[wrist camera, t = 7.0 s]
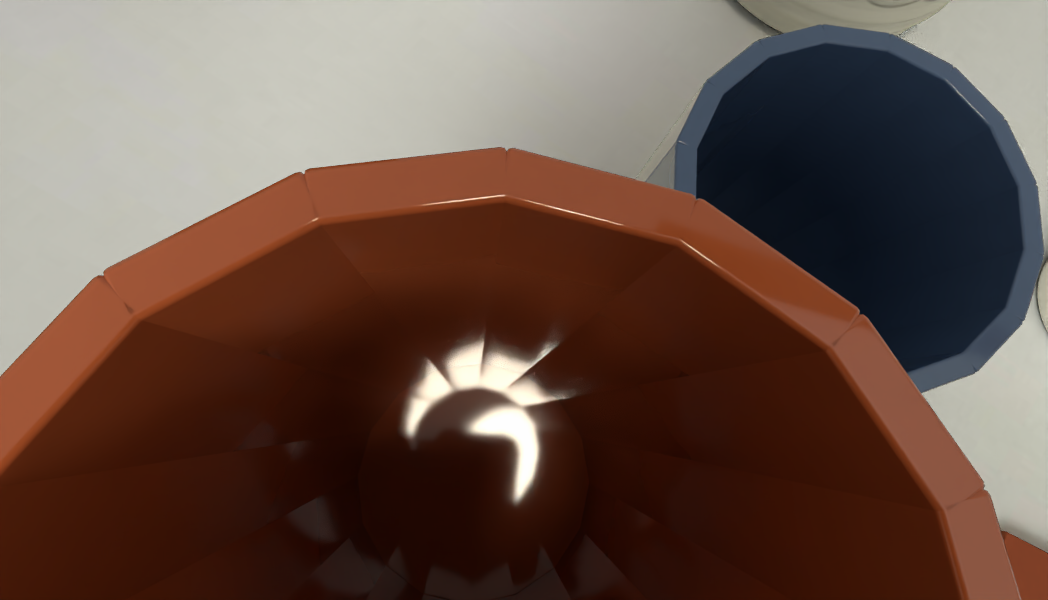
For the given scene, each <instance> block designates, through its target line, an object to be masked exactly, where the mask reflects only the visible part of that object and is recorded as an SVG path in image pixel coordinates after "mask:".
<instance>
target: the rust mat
mask: <svg viewBox="0 0 1048 600" xmlns="http://www.w3.org/2000/svg"><path fill="white" fill-rule="evenodd" d="M1001 533H1002V536H1003V540H1004V543H1005V546H1006V550H1007V553H1008V556H1009V560H1010V563H1011V566H1012V570H1013V573H1014V577H1015V580H1016V583H1017V587H1018V590H1019V593H1020V597H1021V600H1048V553H1046V552H1045V551H1043V550H1041V549H1039V548H1037V547H1035V546H1033V545H1031V544H1029V543H1027V542H1025V541H1023V540H1021V539H1019V538H1018V537H1016V536H1014V535H1012V534H1010V533H1008V532H1005V531H1001Z"/></svg>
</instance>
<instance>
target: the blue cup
mask: <svg viewBox="0 0 1048 600" xmlns="http://www.w3.org/2000/svg"><path fill="white" fill-rule="evenodd" d="M635 180H639V181H643V182H647V183H651V184H655V185H659V186H663V187H666V188H670V189H674V190H678V191H682V192H686V193H690V194H693V195H694V196H695V198H696V200H697V199H699V198H700V199H703V200H705V201H707V202H708V203H710V204H711V205H712V206H714V207H715V208H717V209H718V210H720V211H721V212H722V213H724V214H725V215H727V216H728V217H730V218H731V219H732V220H734V221H735V222H737V223H738V224H739V225H741V226H742V227H744V228H745V229H747V230H748V231H749V232H751V233H752V234H754V235H755V236H757V237H758V238H759V239H761V240H762V241H764V242H765V243H767V244H768V245H769V246H771V247H772V248H774V249H775V250H777V251H778V252H779V253H781V254H782V255H784V256H785V257H787V258H788V259H789V260H791V261H792V262H794V263H795V264H796V265H798V266H799V267H801V268H802V269H804V270H805V271H806V272H808V273H809V274H811V275H812V276H814V277H815V278H816V279H818V280H819V281H821V282H822V283H824V284H825V285H826V286H828V287H829V288H831V289H832V290H834V291H835V292H836V293H838V294H839V295H841V296H842V297H844V298H845V299H846V300H848V301H849V302H851V303H852V304H853V305H855V306H856V307H858V309H859V310H860V313H859V314H864V315H865V316H866V317H868V319H869V320H870V322H871V323H872V324H873V326H874V327H875V329H876V330H877V332H878V333H879V334H880V336H881V337H882V339H883V340H884V341H885V343H886V344H887V346H888V347H889V349H890V350H891V351H892V353H893V354H894V356H895V357H896V358H897V360H898V361H899V363H900V364H901V366H902V367H903V368H904V370H905V371H906V373H907V374H908V375H909V377H910V378H911V380H912V381H913V383H914V384H915V385H916V387H917V388H918V390H919V391H920V392H921V393H924V392H926V391H929V390H932V389H934V388H937V387H940V386H943V385H945V384H948V383H951V382H953V381H956V380H959V379H962V378H964V377H967V376H970V375H973V374H974V373H975V372H977V371H979V370H980V368H981V367H982V366H983V365H984V364H985V363H986V362H987V361H988V360H989V359H990V358H991V357H992V356H993V355H994V353H995V352H996V351H997V350H998V349H999V348H1000V347H1001V346H1002V345H1003V344H1004V343H1005V342H1006V341H1007V340H1008V339H1009V337H1010V336H1011V335H1012V334H1013V333H1014V332H1015V331H1016V330H1017V329H1018V328H1019V327H1020V326H1021V325H1022V323H1023V321H1024V320H1025V317H1026V314H1027V311H1028V308H1029V304H1030V301H1031V298H1032V295H1033V291H1034V288H1035V285H1036V282H1037V279H1038V275H1039V272H1040V269H1041V266H1042V263H1043V259H1044V256H1043V255H1044V244H1043V234H1042V224H1041V214H1040V204H1039V194H1038V186H1037V185H1036V180H1035V178H1034V176H1033V174H1032V172H1031V170H1030V168H1029V166H1028V164H1027V162H1026V159H1025V157H1024V155H1023V153H1022V151H1021V149H1020V147H1019V145H1018V143H1017V141H1016V139H1015V137H1014V135H1013V133H1012V131H1011V128H1010V126H1009V124H1008V122H1007V121H1006V120H1004V116H1003V115H1002V114H1001V113H1000V112H999V111H998V110H997V109H996V108H995V107H994V106H993V105H992V104H991V103H990V102H989V101H988V100H987V99H986V98H985V97H984V96H983V95H982V94H981V93H980V92H979V91H978V90H977V89H976V88H975V87H974V86H973V85H972V84H971V83H970V82H969V80H968V79H967V78H966V77H965V76H964V75H963V74H962V73H961V72H960V71H959V70H958V69H957V68H955V67H953V65H951V64H950V63H948V62H946V61H944V60H942V59H940V58H938V57H936V56H934V55H932V54H930V53H928V52H926V51H924V50H922V49H920V48H919V47H917V46H915V45H913V44H911V43H909V42H907V41H905V40H903V39H901V38H899V37H897V36H895V35H893V34H889V33H887V32H879V31H872V30H864V29H857V28H850V27H842V26H835V25H828V24H823V25H821V24H819V25H815V26H811V27H807V28H803V29H799V30H795V31H791V32H787V33H783V34H779V35H775V36H771V37H767V38H763V39H760V40H758V41H756V42H754V43H753V44H751V45H750V46H749V47H748V48H746V49H745V50H744V51H743V52H741V53H740V54H739V55H738V56H736V57H735V58H734V59H733V60H731V61H730V62H729V63H728V64H726V65H725V66H724V67H722V68H721V69H720V70H719V71H717V72H716V73H715V74H714V75H712V76H711V77H710V78H709V79H707V81H706V82H705V83H704V84H703V86H702V87H701V88H700V90H699V91H698V93H697V94H696V95H695V97H694V98H693V99H692V101H691V102H690V104H689V105H688V106H687V108H686V109H685V111H684V112H683V113H682V115H681V116H680V117H679V119H678V120H677V122H676V123H675V124H674V126H673V127H672V129H671V130H670V131H669V133H668V134H667V135H666V137H665V138H664V140H663V141H662V142H661V144H660V145H659V147H658V148H657V149H656V151H655V152H654V153H653V155H652V156H651V158H650V159H649V160H648V162H647V163H646V165H645V166H644V167H643V169H642V170H641V172H640V173H639V174H638V176H637V177H636V178H635Z"/></svg>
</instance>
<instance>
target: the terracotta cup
mask: <svg viewBox="0 0 1048 600" xmlns="http://www.w3.org/2000/svg"><path fill="white" fill-rule="evenodd" d="M103 273H104V276H103V275H98V276H96V277H95V278H93V279H92V280H91V281H90V282H89V283H88V284H87V286H86V287H85V288H84V289H83V290H82V291H81V292H80V293H79V294H78V295H77V296H76V297H75V298H74V299H73V300H72V301H71V302H70V303H69V305H68V306H67V307H66V308H65V309H64V310H63V311H62V312H61V313H60V314H59V315H58V316H57V317H56V318H55V319H54V320H53V321H52V322H51V324H50V325H49V326H48V327H47V328H46V329H45V330H44V331H43V332H42V333H41V334H40V335H39V336H38V337H37V338H36V339H35V340H34V341H33V343H32V344H31V345H30V346H29V347H28V348H27V349H26V350H25V351H24V352H23V353H22V354H21V355H20V356H19V357H18V358H17V359H16V360H15V362H14V363H13V364H12V365H11V366H10V367H9V368H8V369H7V370H6V371H5V372H4V373H3V374H2V375H1V376H0V600H1021V597H1020V593H1019V590H1018V587H1017V583H1016V580H1015V577H1014V573H1013V570H1012V566H1011V563H1010V560H1009V556H1008V553H1007V550H1006V546H1005V543H1004V540H1003V536H1002V533H1001V530H1000V526H999V523H998V519H997V516H996V513H995V509H994V506H993V503H992V499H991V496H990V494H989V493H988V491H986V490H984V487H985V485H984V482H983V480H982V479H981V477H980V476H979V474H978V473H977V472H976V470H975V469H974V467H973V466H972V465H971V463H970V462H969V460H968V459H967V457H966V456H965V455H964V453H963V452H962V450H961V449H960V448H959V446H958V445H957V443H956V442H955V441H954V439H953V438H952V436H951V435H950V433H949V432H948V431H947V429H946V428H945V426H944V425H943V424H942V422H941V421H940V419H939V418H938V416H937V415H936V414H935V412H934V411H933V409H932V408H931V407H930V405H929V404H928V402H927V401H926V399H925V398H924V397H923V395H922V394H921V392H920V391H919V390H918V388H917V387H916V385H915V384H914V383H913V381H912V380H911V378H910V377H909V375H908V374H907V373H906V371H905V370H904V368H903V367H902V366H901V364H900V363H899V361H898V360H897V358H896V357H895V356H894V354H893V353H892V351H891V350H890V349H889V347H888V346H887V344H886V343H885V341H884V340H883V339H882V337H881V336H880V334H879V333H878V332H877V330H876V329H875V327H874V326H873V324H872V323H871V322H870V320H869V319H868V317H866V316H865V315H864V314H859V313H860V310H859V309H858V307H856V306H855V305H853V304H852V303H851V302H849V301H848V300H846V299H845V298H844V297H842V296H841V295H839V294H838V293H836V292H835V291H834V290H832V289H831V288H829V287H828V286H826V285H825V284H824V283H822V282H821V281H819V280H818V279H816V278H815V277H814V276H812V275H811V274H809V273H808V272H806V271H805V270H804V269H802V268H801V267H799V266H798V265H796V264H795V263H794V262H792V261H791V260H789V259H788V258H787V257H785V256H784V255H782V254H781V253H779V252H778V251H777V250H775V249H774V248H772V247H771V246H769V245H768V244H767V243H765V242H764V241H762V240H761V239H759V238H758V237H757V236H755V235H754V234H752V233H751V232H749V231H748V230H747V229H745V228H744V227H742V226H741V225H739V224H738V223H737V222H735V221H734V220H732V219H731V218H730V217H728V216H727V215H725V214H724V213H722V212H721V211H720V210H718V209H717V208H715V207H714V206H712V205H711V204H710V203H708V202H707V201H705V200H703V199H700V198H699V199H697V200H696V198H695V196H694V195H693V194H690V193H686V192H682V191H678V190H674V189H670V188H666V187H663V186H659V185H655V184H651V183H647V182H643V181H639V180H635V179H632V178H628V177H624V176H620V175H616V174H612V173H608V172H604V171H601V170H597V169H593V168H589V167H585V166H581V165H577V164H573V163H570V162H566V161H562V160H558V159H554V158H550V157H546V156H542V155H538V154H535V153H531V152H527V151H523V150H519V149H515V148H509V149H508V150H507V151H506V150H505V148H502V147H497V148H488V149H479V150H470V151H461V152H452V153H444V154H435V155H426V156H417V157H408V158H399V159H390V160H381V161H372V162H364V163H355V164H346V165H337V166H328V167H319V168H310V169H307V170H305V174H303V173H302V172H298V173H294V174H292V175H290V176H288V177H286V178H284V179H282V180H280V181H278V182H276V183H274V184H272V185H270V186H269V187H267V188H265V189H263V190H261V191H259V192H257V193H255V194H253V195H251V196H249V197H247V198H245V199H243V200H241V201H239V202H237V203H235V204H233V205H231V206H229V207H227V208H225V209H223V210H221V211H219V212H217V213H215V214H213V215H211V216H209V217H207V218H205V219H203V220H201V221H199V222H197V223H195V224H193V225H191V226H189V227H187V228H186V229H184V230H182V231H180V232H178V233H176V234H174V235H172V236H170V237H168V238H166V239H164V240H162V241H160V242H158V243H156V244H154V245H152V246H150V247H148V248H146V249H144V250H142V251H140V252H138V253H136V254H134V255H132V256H130V257H128V258H126V259H124V260H122V261H120V262H118V263H116V264H114V265H112V266H110V267H108V268H107V269H106V270H105V271H104V272H103Z"/></svg>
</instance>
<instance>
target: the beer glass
mask: <svg viewBox="0 0 1048 600" xmlns="http://www.w3.org/2000/svg"><path fill="white" fill-rule="evenodd" d="M1037 298H1038V306H1039V311H1040V315H1041V318H1042V321H1043V323H1044V326H1045V328H1046V330H1047V332H1048V260H1047V261H1046V263H1045V265H1044V267H1043V269H1042V271H1041V274H1040V278H1039V282H1038V290H1037Z"/></svg>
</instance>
